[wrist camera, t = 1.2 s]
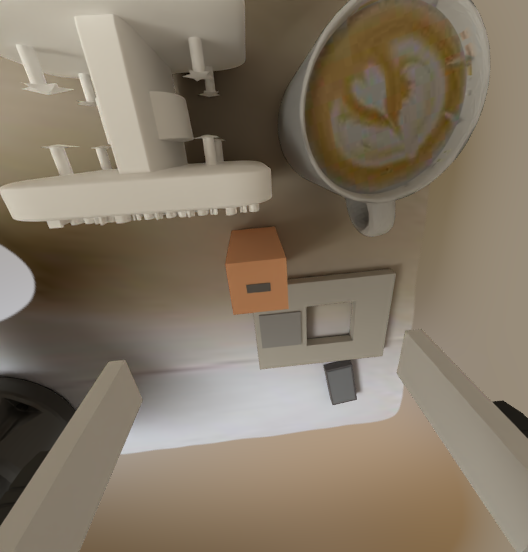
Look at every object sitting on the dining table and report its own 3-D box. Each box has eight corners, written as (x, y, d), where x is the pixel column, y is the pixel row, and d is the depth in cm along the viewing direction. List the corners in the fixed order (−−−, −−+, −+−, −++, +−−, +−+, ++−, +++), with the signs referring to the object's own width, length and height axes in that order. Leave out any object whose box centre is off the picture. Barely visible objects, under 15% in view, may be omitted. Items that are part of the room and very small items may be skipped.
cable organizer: (255, 43, 20) (264, -80, 9) (263, 187, 24) (275, 215, 14) (55, 54, 19) (-174, -62, 9) (103, 198, 24) (-8, 236, 13)
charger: (237, 269, 28) (233, 315, 20) (231, 230, 26) (225, 264, 18) (277, 265, 28) (288, 309, 20) (274, 226, 26) (286, 258, 18)
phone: (330, 399, 38) (332, 405, 37) (323, 365, 35) (325, 371, 34) (354, 393, 38) (357, 400, 37) (349, 358, 35) (352, 364, 34)
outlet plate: (259, 362, 34) (260, 370, 33) (249, 283, 29) (250, 289, 27) (378, 349, 34) (383, 357, 33) (390, 268, 29) (396, 274, 28)
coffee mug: (273, 56, 20) (296, -20, 11) (399, 45, 20) (521, -40, 11) (282, 224, 26) (302, 263, 17) (379, 214, 26) (448, 248, 17)
